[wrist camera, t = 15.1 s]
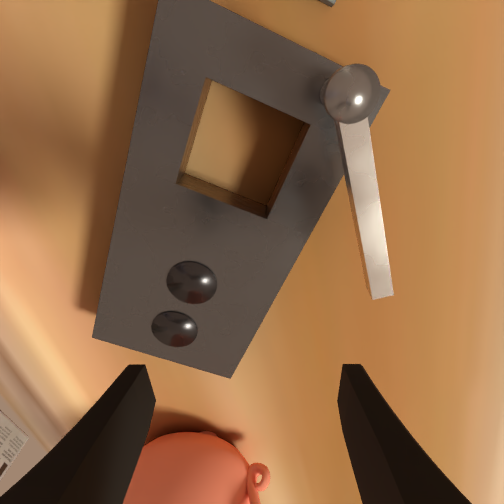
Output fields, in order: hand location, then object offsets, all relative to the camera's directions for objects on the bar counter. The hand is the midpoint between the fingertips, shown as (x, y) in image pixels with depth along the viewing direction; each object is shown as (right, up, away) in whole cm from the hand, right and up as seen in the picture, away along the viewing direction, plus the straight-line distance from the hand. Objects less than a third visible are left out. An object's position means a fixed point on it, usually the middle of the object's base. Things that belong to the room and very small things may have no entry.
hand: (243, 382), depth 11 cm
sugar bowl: (-5, -15, +20) cm, 25 cm away
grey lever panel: (-2, +6, +7) cm, 10 cm away
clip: (+5, +8, +4) cm, 10 cm away
